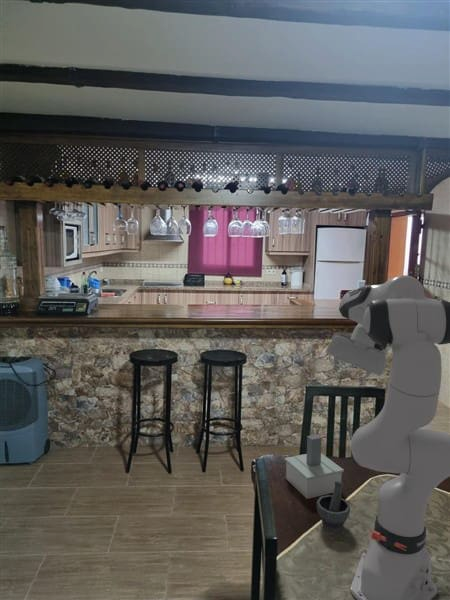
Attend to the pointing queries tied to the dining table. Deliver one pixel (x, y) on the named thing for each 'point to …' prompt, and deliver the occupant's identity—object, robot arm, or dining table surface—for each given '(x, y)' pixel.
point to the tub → (312, 483)
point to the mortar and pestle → (333, 509)
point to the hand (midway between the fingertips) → (347, 376)
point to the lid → (313, 461)
